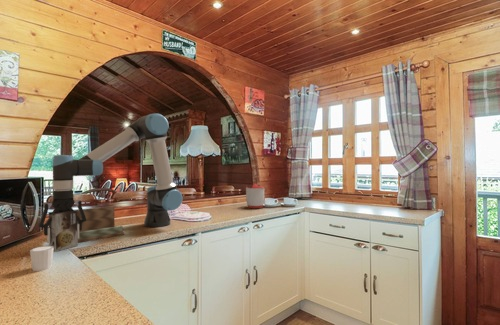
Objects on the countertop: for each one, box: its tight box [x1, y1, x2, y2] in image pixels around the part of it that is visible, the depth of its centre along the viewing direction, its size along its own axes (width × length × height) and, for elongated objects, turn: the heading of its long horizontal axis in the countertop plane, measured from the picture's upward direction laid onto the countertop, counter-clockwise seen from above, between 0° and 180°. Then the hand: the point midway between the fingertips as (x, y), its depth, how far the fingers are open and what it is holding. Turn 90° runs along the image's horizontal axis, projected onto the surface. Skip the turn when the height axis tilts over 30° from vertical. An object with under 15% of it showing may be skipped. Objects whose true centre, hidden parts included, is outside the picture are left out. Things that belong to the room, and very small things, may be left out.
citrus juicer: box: [245, 183, 265, 210], centre depth 228 cm, size 16×17×20 cm
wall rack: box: [75, 205, 125, 244], centre depth 143 cm, size 22×18×13 cm
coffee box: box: [48, 209, 79, 252], centre depth 123 cm, size 9×6×16 cm
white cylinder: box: [29, 245, 54, 272], centre depth 99 cm, size 7×7×7 cm
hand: (63, 240), depth 123 cm, fingers closed on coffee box, 10 cm apart
